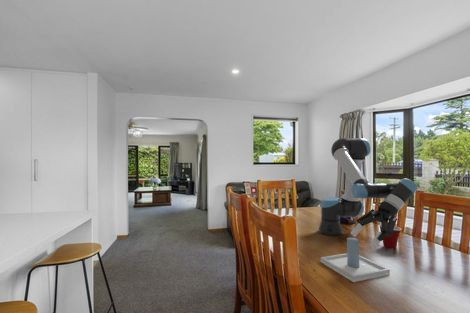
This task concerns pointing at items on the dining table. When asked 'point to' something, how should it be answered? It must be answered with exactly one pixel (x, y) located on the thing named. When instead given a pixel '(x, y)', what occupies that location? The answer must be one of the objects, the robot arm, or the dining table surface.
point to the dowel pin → (353, 252)
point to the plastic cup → (391, 238)
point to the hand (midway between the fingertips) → (361, 239)
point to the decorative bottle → (346, 219)
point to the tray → (364, 271)
